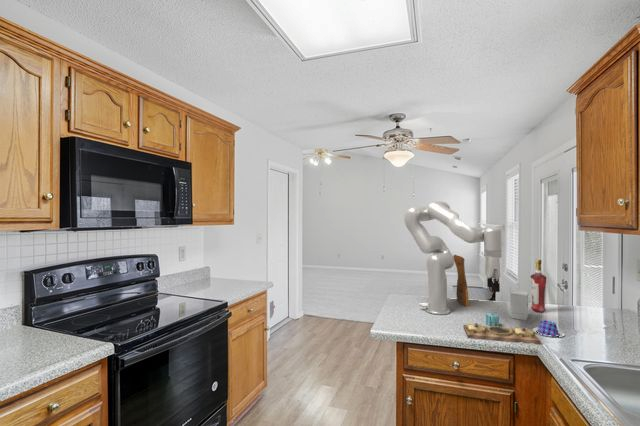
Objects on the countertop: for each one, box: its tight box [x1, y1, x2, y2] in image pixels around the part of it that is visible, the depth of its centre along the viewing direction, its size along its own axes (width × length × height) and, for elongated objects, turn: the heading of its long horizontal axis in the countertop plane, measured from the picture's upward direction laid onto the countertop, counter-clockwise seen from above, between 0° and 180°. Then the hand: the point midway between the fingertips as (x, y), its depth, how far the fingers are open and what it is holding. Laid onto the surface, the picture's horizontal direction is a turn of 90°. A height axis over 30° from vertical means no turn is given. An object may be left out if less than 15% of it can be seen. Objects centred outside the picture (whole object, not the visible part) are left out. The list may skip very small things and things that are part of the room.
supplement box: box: [510, 290, 529, 321], centre depth 176 cm, size 7×7×13 cm
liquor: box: [530, 259, 547, 313], centre depth 186 cm, size 7×7×28 cm
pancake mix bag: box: [453, 254, 470, 307], centre depth 203 cm, size 7×19×28 cm, turn 168°
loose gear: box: [485, 312, 500, 327], centre depth 165 cm, size 6×6×5 cm
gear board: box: [462, 322, 542, 345], centre depth 151 cm, size 28×13×4 cm, turn 75°
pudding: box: [532, 319, 565, 338], centre depth 154 cm, size 12×12×5 cm
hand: (493, 289), depth 164 cm, fingers open, 9 cm apart
